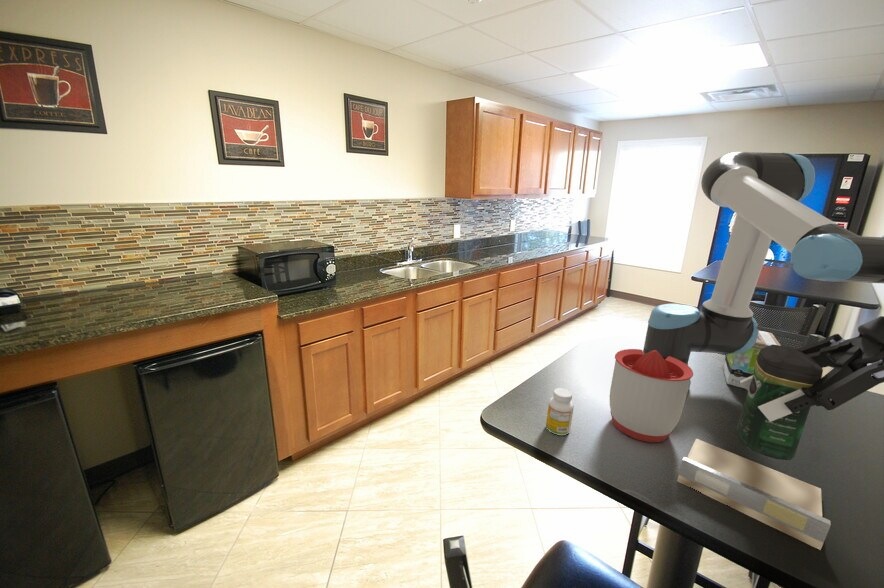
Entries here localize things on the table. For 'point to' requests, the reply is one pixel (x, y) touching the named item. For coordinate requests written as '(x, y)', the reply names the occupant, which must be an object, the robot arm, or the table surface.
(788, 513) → the rail
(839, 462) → the table surface
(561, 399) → the supplement bottle
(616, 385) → the citrus juicer
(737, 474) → the shelf board
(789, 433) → the coffee jar
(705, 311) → the robot arm
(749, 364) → the tea box
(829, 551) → the table surface
